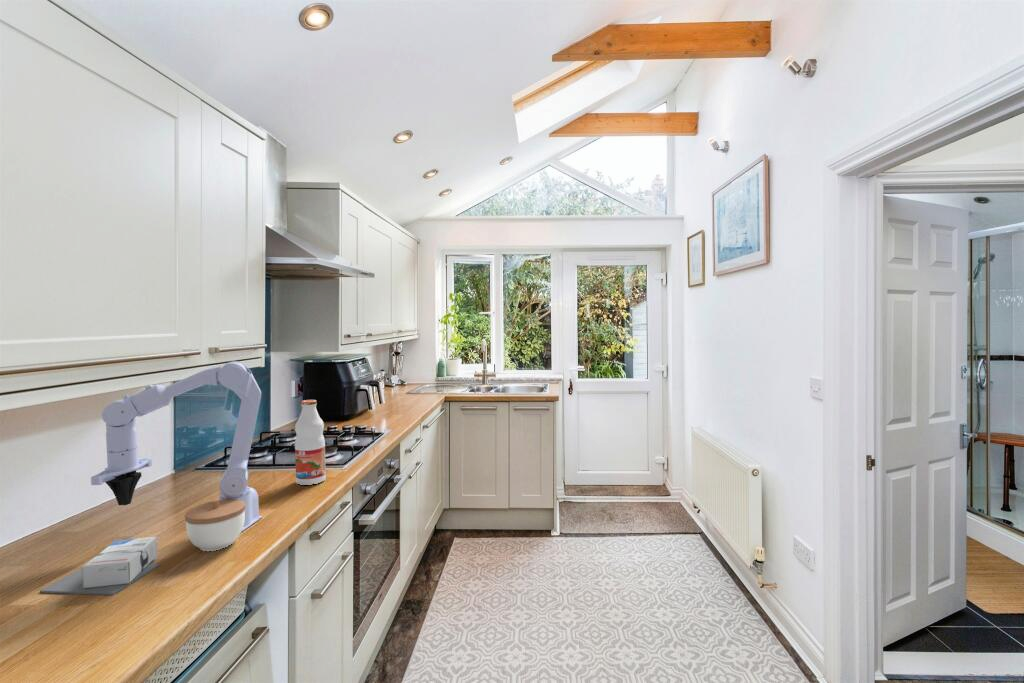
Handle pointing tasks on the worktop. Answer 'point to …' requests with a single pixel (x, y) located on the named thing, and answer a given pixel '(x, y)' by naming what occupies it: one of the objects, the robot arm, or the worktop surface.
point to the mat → (75, 586)
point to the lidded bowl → (215, 523)
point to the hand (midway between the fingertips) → (124, 504)
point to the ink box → (119, 562)
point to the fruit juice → (309, 445)
